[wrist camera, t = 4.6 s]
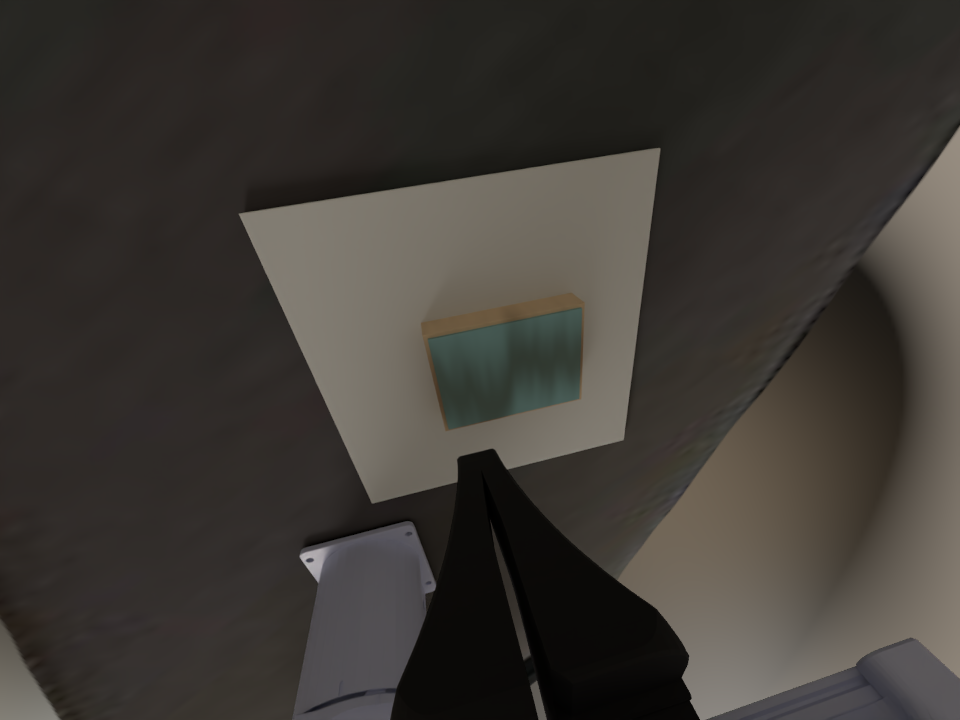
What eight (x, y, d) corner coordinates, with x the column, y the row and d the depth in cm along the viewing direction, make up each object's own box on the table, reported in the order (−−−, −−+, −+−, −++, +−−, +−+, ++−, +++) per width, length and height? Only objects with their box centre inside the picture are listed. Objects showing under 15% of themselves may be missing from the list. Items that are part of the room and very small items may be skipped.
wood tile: (442, 414, 20) (570, 384, 21) (445, 433, 19) (582, 400, 20) (420, 322, 17) (571, 292, 18) (422, 337, 16) (586, 303, 17)
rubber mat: (619, 435, 25) (623, 439, 25) (372, 497, 23) (372, 503, 23) (653, 148, 16) (660, 147, 15) (243, 212, 14) (238, 214, 13)
